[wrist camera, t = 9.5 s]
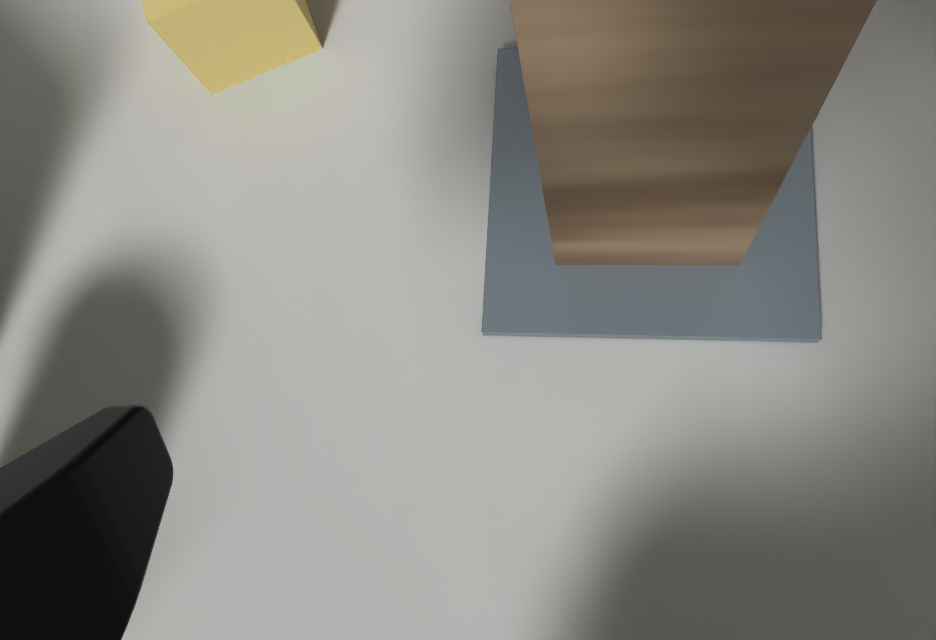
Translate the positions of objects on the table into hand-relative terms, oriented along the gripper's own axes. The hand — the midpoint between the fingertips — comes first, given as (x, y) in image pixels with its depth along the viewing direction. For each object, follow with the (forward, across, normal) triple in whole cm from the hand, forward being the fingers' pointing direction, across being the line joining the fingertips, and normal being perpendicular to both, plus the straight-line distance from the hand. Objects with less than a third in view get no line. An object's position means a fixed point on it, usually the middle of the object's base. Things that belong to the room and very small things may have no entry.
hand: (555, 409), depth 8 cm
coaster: (+16, -2, +4) cm, 16 cm away
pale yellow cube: (+21, +10, -1) cm, 23 cm away
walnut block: (+15, -2, +4) cm, 16 cm away
